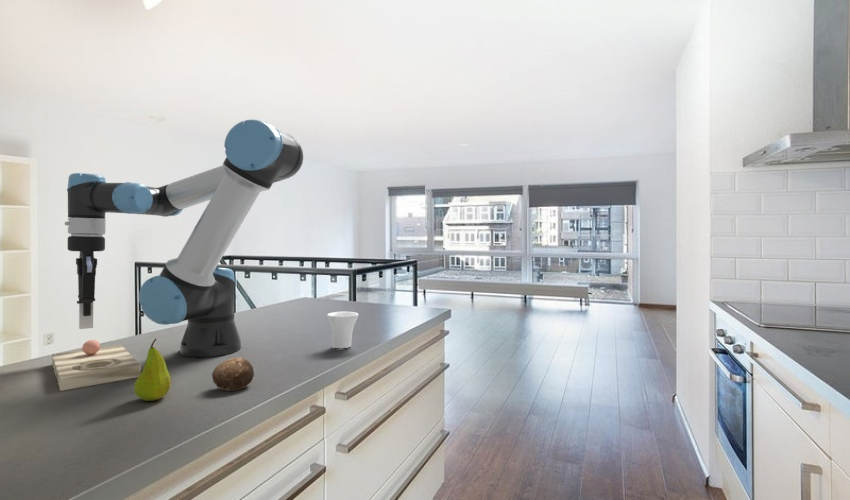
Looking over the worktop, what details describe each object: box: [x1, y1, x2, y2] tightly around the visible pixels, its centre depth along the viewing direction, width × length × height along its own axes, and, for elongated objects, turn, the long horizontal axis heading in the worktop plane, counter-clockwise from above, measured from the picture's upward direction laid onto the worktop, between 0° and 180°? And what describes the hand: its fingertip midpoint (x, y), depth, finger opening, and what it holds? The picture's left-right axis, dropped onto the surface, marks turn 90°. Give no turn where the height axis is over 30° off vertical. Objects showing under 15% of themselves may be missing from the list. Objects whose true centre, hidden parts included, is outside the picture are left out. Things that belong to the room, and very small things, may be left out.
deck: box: [51, 344, 142, 392], centre depth 102 cm, size 24×14×2 cm, turn 44°
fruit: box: [133, 338, 172, 402], centre depth 85 cm, size 6×6×12 cm
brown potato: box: [211, 357, 255, 392], centre depth 93 cm, size 8×8×6 cm
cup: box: [326, 311, 359, 349], centre depth 126 cm, size 9×9×10 cm
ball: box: [81, 339, 101, 355], centre depth 106 cm, size 4×4×4 cm
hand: (86, 327), depth 111 cm, fingers closed
